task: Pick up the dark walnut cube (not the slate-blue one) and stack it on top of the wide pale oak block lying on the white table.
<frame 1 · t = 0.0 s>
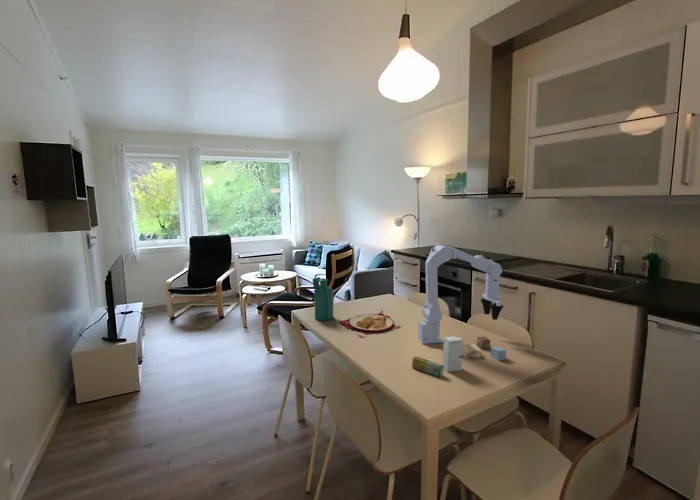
hand: (490, 316, 166), 10 cm above the table, tool pointing down, fingers open, 7 cm apart
green tall canister: (323, 318, 198), on the table
slate block: (498, 358, 146), on the table
skincare box: (452, 369, 137), on the table
walnut block: (483, 347, 157), on the table
medication box: (427, 372, 135), on the table
plate with food: (372, 326, 185), on the table
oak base: (469, 354, 150), on the table
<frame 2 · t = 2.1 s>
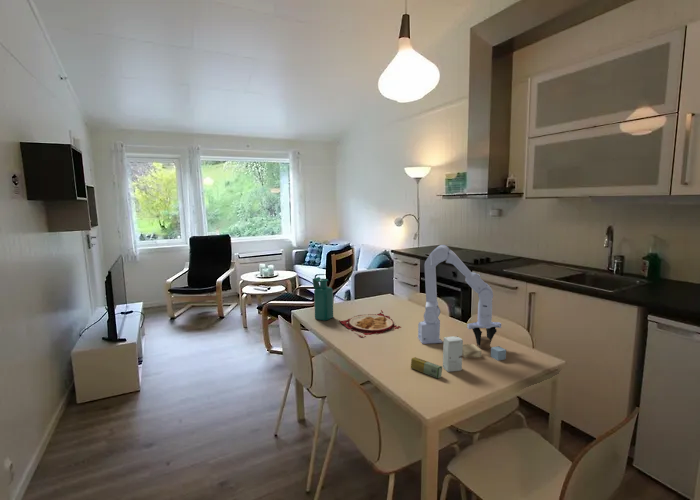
hand: (483, 343, 157), 1 cm above the table, tool pointing down, fingers closed on walnut block, 4 cm apart
walnut block: (483, 346, 157), on the table, touching gripper
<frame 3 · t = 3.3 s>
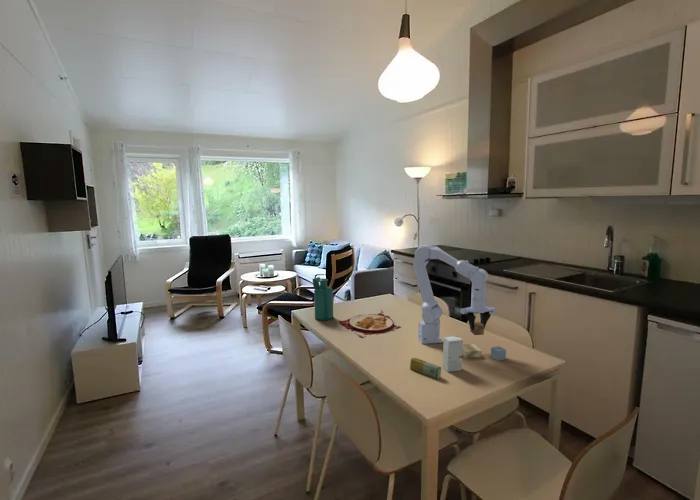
hand: (477, 329, 152), 9 cm above the table, tool pointing down, fingers closed on walnut block, 4 cm apart
walnut block: (477, 333, 152), point 8 cm above the table, touching gripper
when the fingers open (5 cm above the table, at t = 4.7 s): walnut block drops 1 cm, resting on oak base.
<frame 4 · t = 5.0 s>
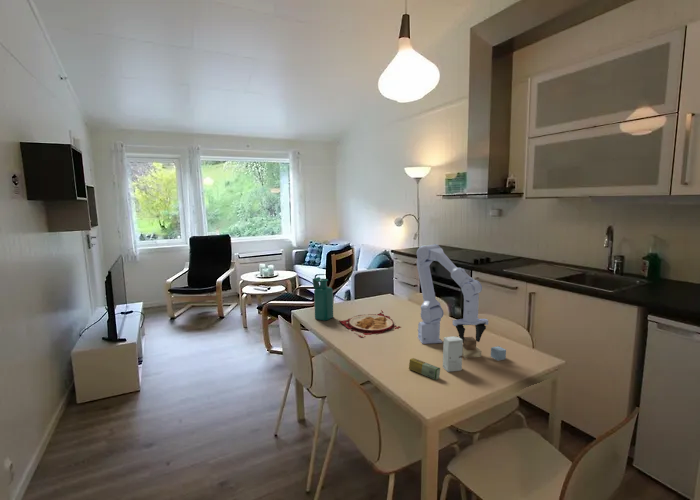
hand: (469, 341, 149), 5 cm above the table, tool pointing down, fingers open, 6 cm apart
walnut block: (469, 347, 150), point 3 cm above the table, touching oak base
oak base: (469, 354, 150), on the table, touching walnut block
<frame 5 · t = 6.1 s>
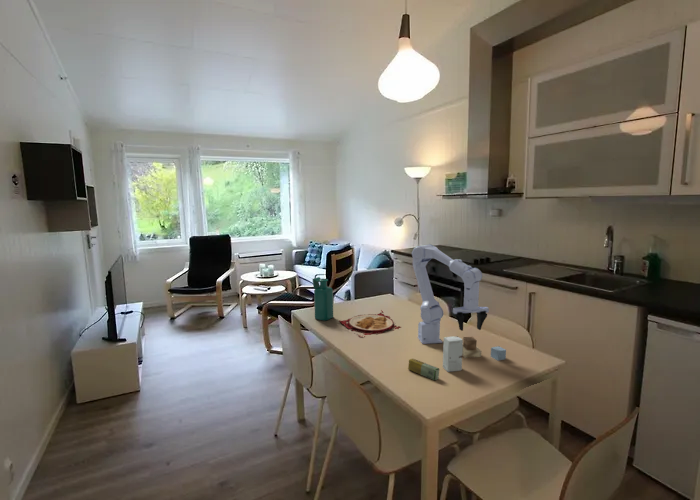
hand: (470, 329, 149), 10 cm above the table, tool pointing down, fingers open, 7 cm apart
walnut block: (469, 347, 150), point 3 cm above the table
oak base: (469, 354, 150), on the table
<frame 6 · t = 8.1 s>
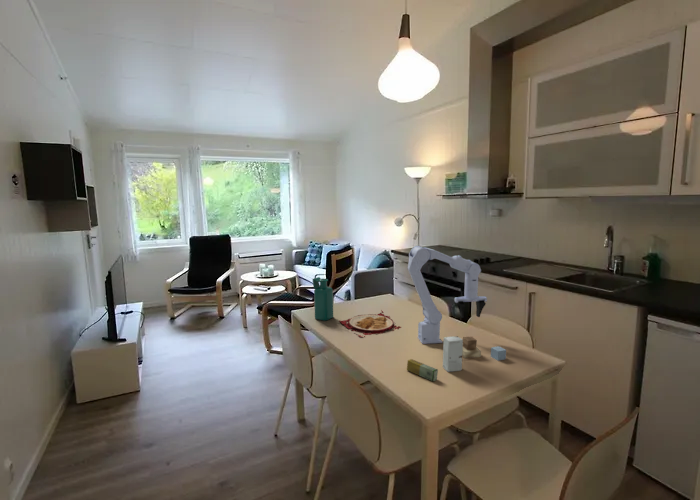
hand: (470, 316, 165), 10 cm above the table, tool pointing down, fingers open, 7 cm apart
walnut block: (469, 347, 150), point 3 cm above the table, touching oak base
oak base: (468, 354, 150), on the table, touching walnut block
at the end: walnut block 0.2 cm off-centre on the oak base, point 3.0 cm above the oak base's base; walnut block tilted 0°; slate block moved 0.1 cm from its start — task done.
